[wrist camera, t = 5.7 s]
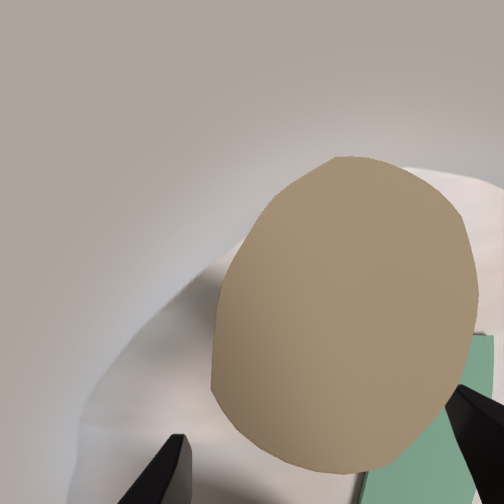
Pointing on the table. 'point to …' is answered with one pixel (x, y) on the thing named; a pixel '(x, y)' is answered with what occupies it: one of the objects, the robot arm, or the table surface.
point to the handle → (345, 317)
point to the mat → (434, 450)
